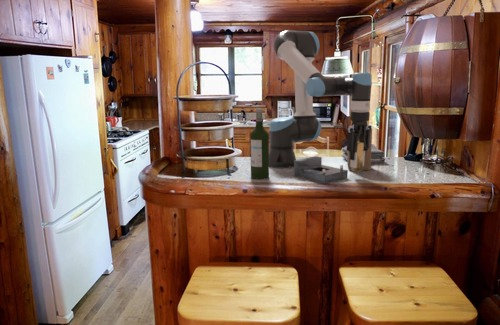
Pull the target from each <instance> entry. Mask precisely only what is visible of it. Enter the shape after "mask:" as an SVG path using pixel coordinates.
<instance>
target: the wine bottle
mask: <svg viewBox="0 0 500 325" xmlns="http://www.w3.org/2000/svg"><path fill="white" fill-rule="evenodd" d="M255 112H256V113H255V127H254V129H253V130H251V132H250V135H249V136H250V138H249V139H250V178H252V179H253V180H265V179H266V180H267V179H269V178H270V177H269V176H270V166H269V151H270V133H269V132H268V131H267V130H266V129H265V128H264V122H263V108H262V107H257V108H256V109H255Z"/></svg>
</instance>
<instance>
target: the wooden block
mask: <svg viewBox="0 0 500 325" xmlns="http://www.w3.org/2000/svg"><path fill="white" fill-rule="evenodd" d="M351 125H352V124H351ZM351 125H349V126H348V128H350V127H351ZM358 142H359V138H358ZM372 144H373V128H372V127H371V131H370V142H369V148H367V149H368V150H367V151H365V158H364V166H362V171H365V172H367V171H370V170H371V167H372V166H371V165H372V163H371V146H372ZM347 169H348V171H352V167H350V152H349V151H348V161H347Z"/></svg>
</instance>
